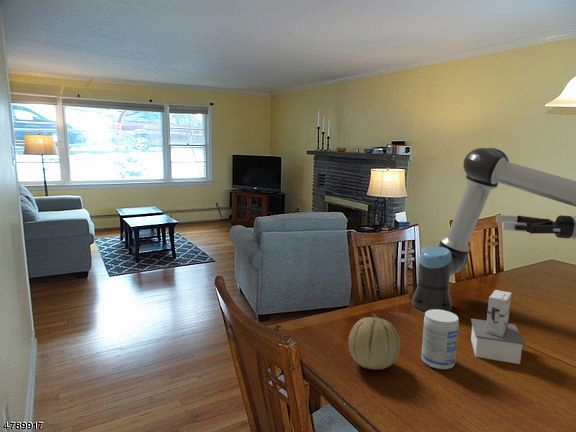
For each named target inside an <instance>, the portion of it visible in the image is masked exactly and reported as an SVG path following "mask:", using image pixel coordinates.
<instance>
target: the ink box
mask: <svg viewBox="0 0 576 432" xmlns="http://www.w3.org/2000/svg"><path fill="white" fill-rule="evenodd" d="M511 299H512V292H510V291H503V290H499V289H494V291H493V292H492V293H491V295H490V296H489V297H488V305H487V314H486V315H487V316H486V321H487V322H486V331H485V332H486V333H489V334H493V335H496V336H500V337H503V335H504V333H505V331H506V329H507V328H508V324H509V317H510V310H511V309H510V307H511V302H512V301H511Z"/></svg>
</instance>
